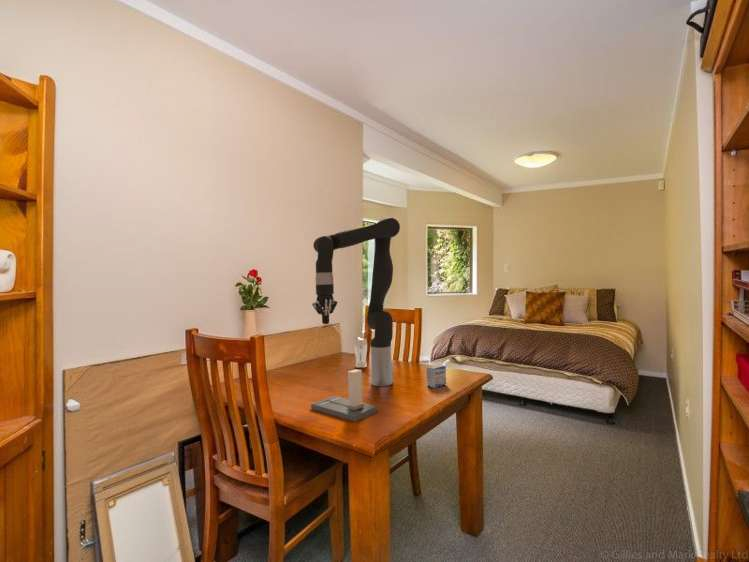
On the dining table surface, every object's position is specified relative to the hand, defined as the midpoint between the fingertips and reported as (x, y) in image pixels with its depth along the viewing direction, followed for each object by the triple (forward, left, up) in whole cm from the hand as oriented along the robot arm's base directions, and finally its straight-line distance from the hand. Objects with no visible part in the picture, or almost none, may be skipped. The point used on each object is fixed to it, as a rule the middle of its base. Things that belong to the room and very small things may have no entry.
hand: (325, 323), depth 166 cm
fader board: (+13, +22, -29) cm, 39 cm away
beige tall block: (+13, +28, -27) cm, 41 cm away
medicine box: (-33, +34, -29) cm, 56 cm away
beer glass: (-42, -18, -29) cm, 54 cm away
